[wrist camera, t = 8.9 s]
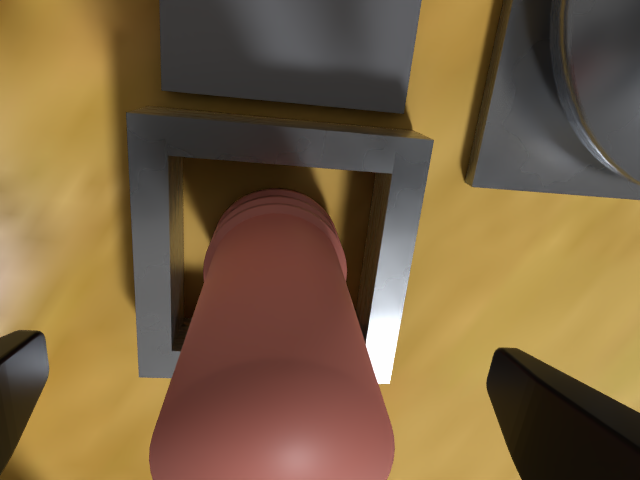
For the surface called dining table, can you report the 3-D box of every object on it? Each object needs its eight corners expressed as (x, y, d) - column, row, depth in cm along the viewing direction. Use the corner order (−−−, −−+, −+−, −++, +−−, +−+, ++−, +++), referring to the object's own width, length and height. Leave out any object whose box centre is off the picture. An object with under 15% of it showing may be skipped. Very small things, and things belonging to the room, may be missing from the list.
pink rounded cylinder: (342, 187, 15) (430, 350, 6) (329, 298, 16) (386, 551, 8) (216, 178, 14) (127, 340, 6) (214, 292, 16) (140, 556, 7)
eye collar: (413, 130, 14) (433, 140, 12) (376, 348, 17) (389, 383, 15) (147, 105, 13) (126, 112, 11) (155, 341, 16) (139, 377, 14)
